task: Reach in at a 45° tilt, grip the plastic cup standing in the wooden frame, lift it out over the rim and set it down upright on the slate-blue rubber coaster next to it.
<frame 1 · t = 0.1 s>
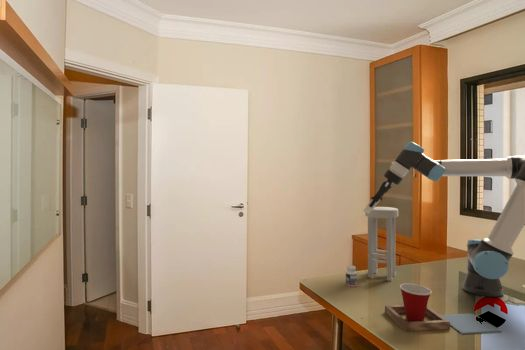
hand: (367, 210, 162), 36 cm above the table, tool tilted 35°, fingers open, 13 cm apart
coaster: (467, 323, 124), on the table
plastic cup: (415, 320, 127), resting in wooden frame
stool: (382, 276, 179), on the table
wooden frame: (415, 320, 127), on the table
pill bottle: (351, 285, 166), on the table
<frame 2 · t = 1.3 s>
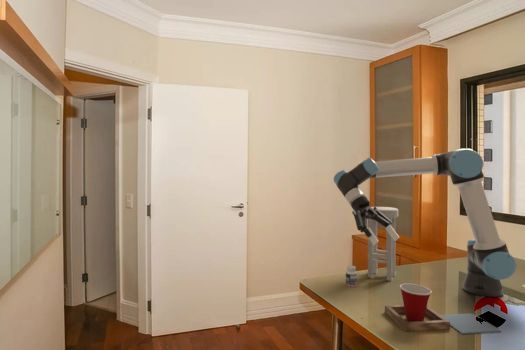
hand: (387, 241, 140), 26 cm above the table, tool tilted 45°, fingers open, 13 cm apart
nothing on the table moved.
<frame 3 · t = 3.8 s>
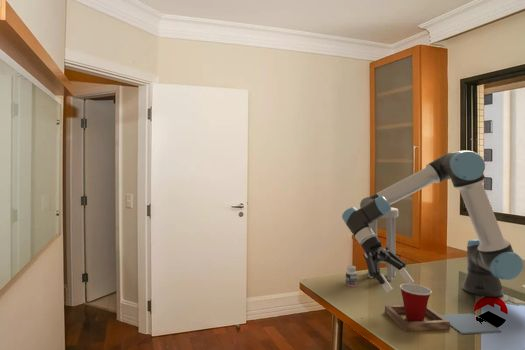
hand: (401, 287, 131), 11 cm above the table, tool tilted 45°, fingers open, 13 cm apart
nothing on the table moved.
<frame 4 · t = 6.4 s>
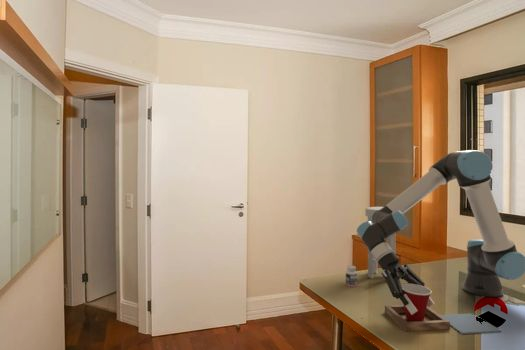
hand: (423, 309, 125), 5 cm above the table, tool tilted 45°, fingers closed on plastic cup, 10 cm apart
plastic cup: (415, 320, 127), resting in wooden frame, touching gripper
everything else where it was.
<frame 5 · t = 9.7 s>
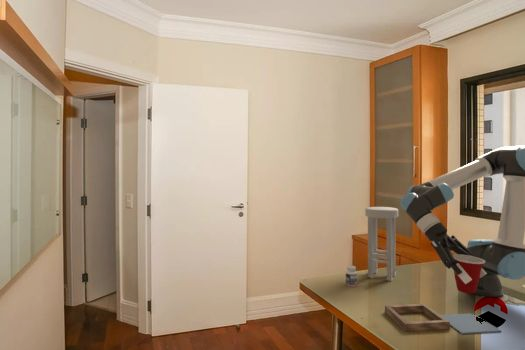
hand: (476, 278, 121), 17 cm above the table, tool tilted 45°, fingers closed on plastic cup, 10 cm apart
plastic cup: (467, 291, 124), point 12 cm above the table, touching gripper
everything else where it was.
when the fingers open (7 cm above the table, at t = 12.9 s): plastic cup moves 3 cm, resting on coaster.
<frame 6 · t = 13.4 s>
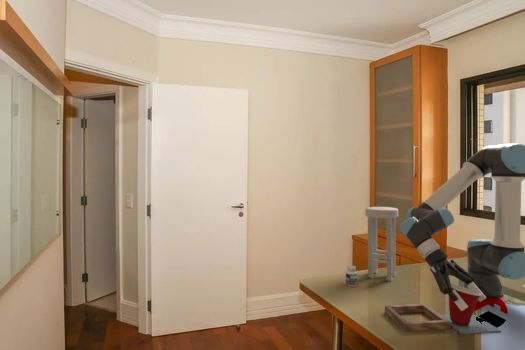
hand: (474, 304, 122), 8 cm above the table, tool tilted 45°, fingers open, 13 cm apart
plastic cup: (460, 322, 123), point 1 cm above the table, touching coaster, gripper
everything else where it was.
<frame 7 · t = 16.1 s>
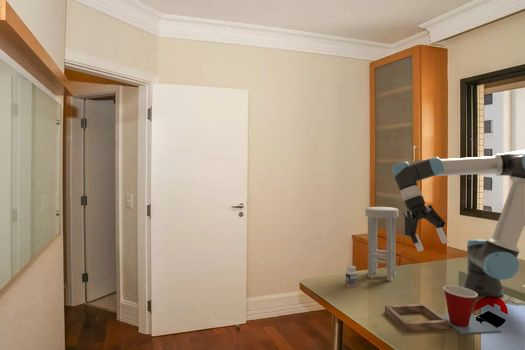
hand: (433, 247, 141), 23 cm above the table, tool tilted 25°, fingers open, 13 cm apart
plastic cup: (459, 324, 123), resting on coaster
everything else where it was.
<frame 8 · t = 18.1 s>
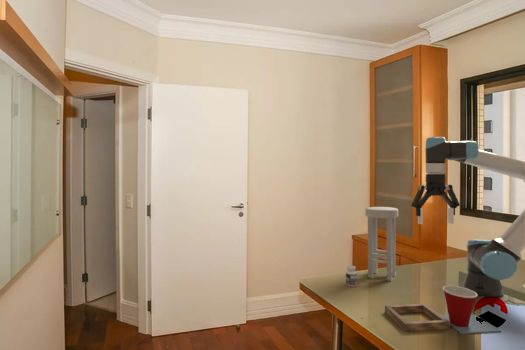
hand: (435, 223, 148), 32 cm above the table, tool pointing down, fingers open, 13 cm apart
nothing on the table moved.
at the end: plastic cup inside the target area on the coaster (3.4 cm from its centre), point 0.3 cm above the coaster's base; plastic cup tilted 0°; the gripper is holding nothing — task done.
